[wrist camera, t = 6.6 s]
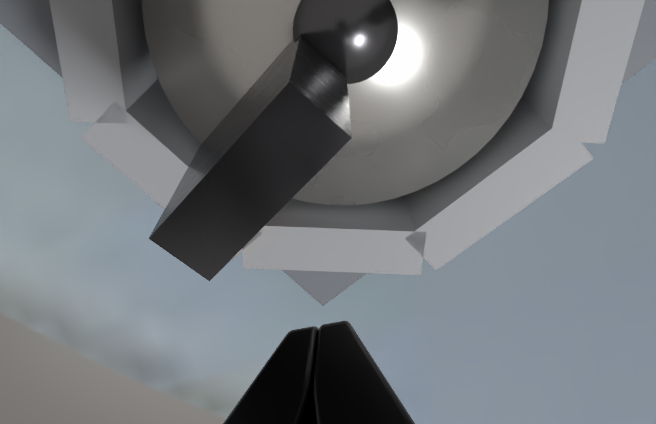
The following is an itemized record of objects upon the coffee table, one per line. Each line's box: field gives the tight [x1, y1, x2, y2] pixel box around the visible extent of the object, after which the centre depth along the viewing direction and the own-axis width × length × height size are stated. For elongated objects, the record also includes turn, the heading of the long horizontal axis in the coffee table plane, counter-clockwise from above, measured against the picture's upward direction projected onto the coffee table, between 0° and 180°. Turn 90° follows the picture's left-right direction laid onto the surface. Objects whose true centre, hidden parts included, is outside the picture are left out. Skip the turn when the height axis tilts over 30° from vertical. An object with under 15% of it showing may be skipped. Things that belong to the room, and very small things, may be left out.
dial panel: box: [0, 0, 656, 306], centre depth 13 cm, size 12×12×4 cm
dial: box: [142, 0, 549, 281], centre depth 11 cm, size 8×8×6 cm
